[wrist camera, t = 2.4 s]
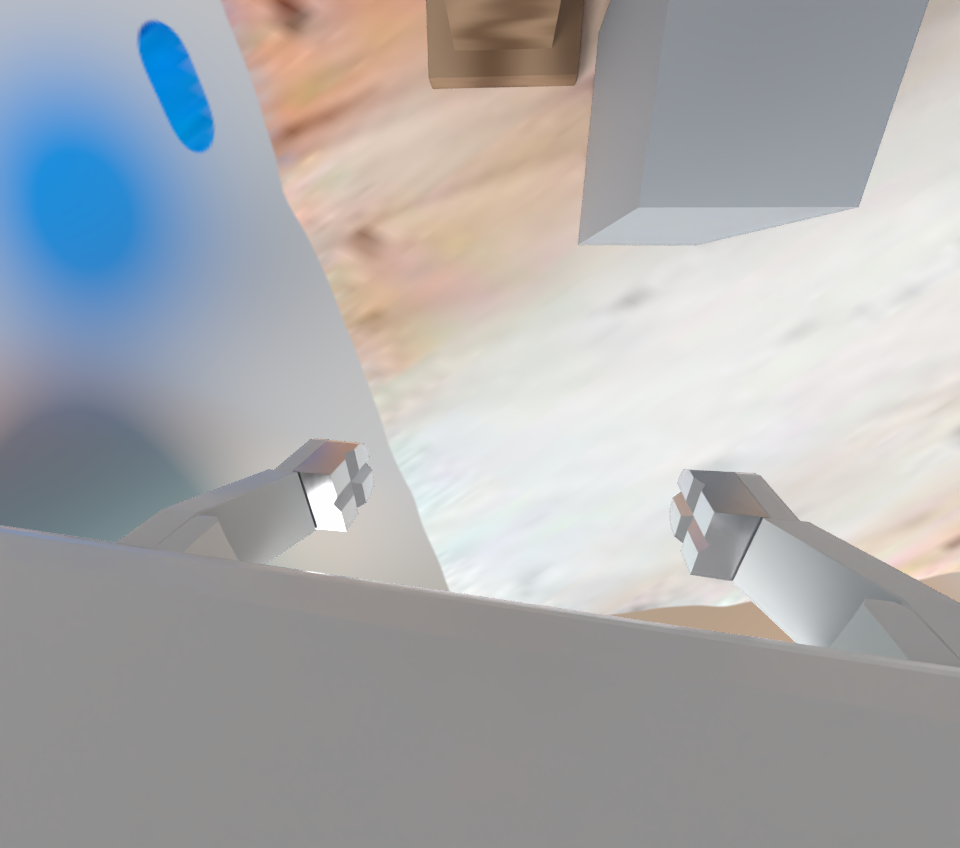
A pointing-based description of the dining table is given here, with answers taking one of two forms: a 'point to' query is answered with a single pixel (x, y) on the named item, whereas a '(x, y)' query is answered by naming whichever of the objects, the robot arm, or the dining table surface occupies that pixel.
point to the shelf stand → (503, 42)
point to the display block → (737, 114)
